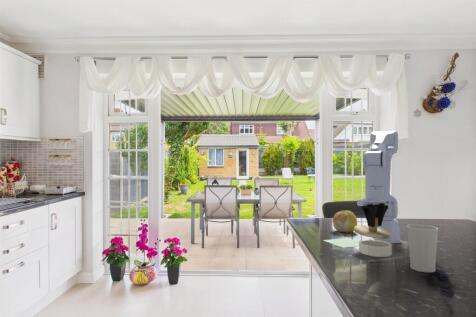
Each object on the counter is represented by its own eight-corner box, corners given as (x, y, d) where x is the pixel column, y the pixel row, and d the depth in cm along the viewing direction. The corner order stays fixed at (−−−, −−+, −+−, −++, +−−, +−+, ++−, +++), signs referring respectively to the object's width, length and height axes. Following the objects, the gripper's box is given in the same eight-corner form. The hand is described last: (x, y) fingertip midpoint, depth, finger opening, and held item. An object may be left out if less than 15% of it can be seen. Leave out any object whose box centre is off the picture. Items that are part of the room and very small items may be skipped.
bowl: (375, 248, 113) (375, 238, 114) (398, 256, 104) (398, 245, 104) (353, 251, 110) (353, 241, 110) (374, 259, 101) (374, 248, 101)
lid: (369, 226, 116) (370, 212, 116) (399, 236, 106) (401, 221, 105) (346, 229, 110) (347, 214, 110) (375, 240, 100) (377, 224, 100)
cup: (428, 275, 86) (427, 230, 86) (401, 266, 93) (400, 225, 93) (445, 270, 90) (444, 228, 90) (417, 263, 97) (417, 223, 97)
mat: (347, 238, 129) (347, 237, 129) (369, 245, 118) (369, 244, 118) (322, 241, 124) (322, 240, 124) (343, 248, 113) (343, 247, 113)
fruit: (339, 229, 148) (339, 208, 148) (361, 233, 140) (361, 210, 140) (327, 232, 141) (327, 210, 141) (350, 236, 133) (350, 212, 133)
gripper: (378, 185, 115) (379, 222, 114) (349, 186, 108) (350, 226, 108) (396, 186, 108) (396, 226, 108) (366, 187, 102) (367, 229, 101)
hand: (374, 226), depth 107 cm, fingers closed on lid, 3 cm apart
